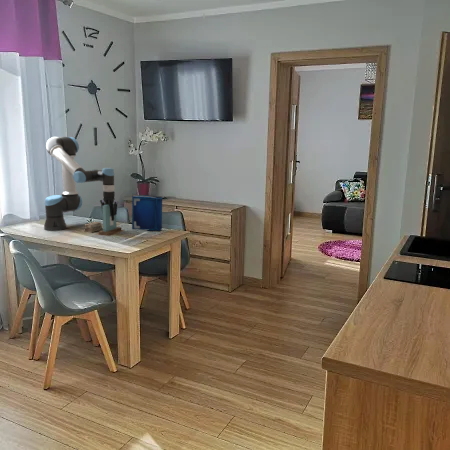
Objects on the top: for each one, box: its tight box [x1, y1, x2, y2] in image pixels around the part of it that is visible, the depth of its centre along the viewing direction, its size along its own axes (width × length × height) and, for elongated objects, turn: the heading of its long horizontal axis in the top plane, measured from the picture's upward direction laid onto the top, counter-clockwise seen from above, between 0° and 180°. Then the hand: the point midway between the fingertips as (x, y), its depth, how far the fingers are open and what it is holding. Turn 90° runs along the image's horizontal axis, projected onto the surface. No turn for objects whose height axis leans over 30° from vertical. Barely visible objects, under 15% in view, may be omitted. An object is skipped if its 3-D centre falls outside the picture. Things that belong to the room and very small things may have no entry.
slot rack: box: [95, 226, 126, 237], centre depth 306 cm, size 12×19×3 cm, turn 159°
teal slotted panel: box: [101, 203, 117, 232], centre depth 304 cm, size 2×12×18 cm, turn 159°
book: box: [131, 194, 163, 232], centre depth 318 cm, size 22×7×25 cm, turn 84°
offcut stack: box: [83, 221, 103, 233], centre depth 310 cm, size 6×13×6 cm, turn 159°
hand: (109, 224), depth 305 cm, fingers closed on teal slotted panel, 2 cm apart
